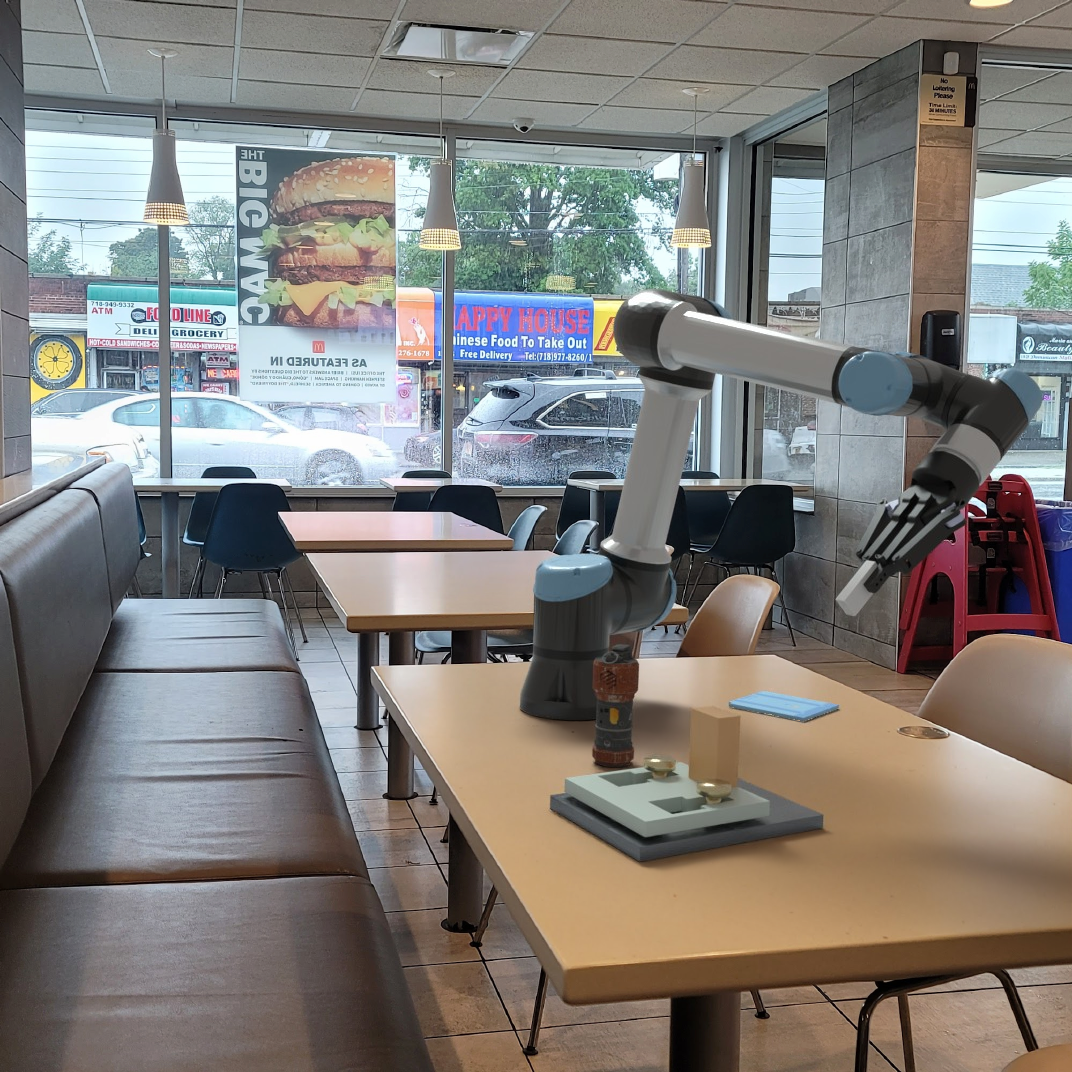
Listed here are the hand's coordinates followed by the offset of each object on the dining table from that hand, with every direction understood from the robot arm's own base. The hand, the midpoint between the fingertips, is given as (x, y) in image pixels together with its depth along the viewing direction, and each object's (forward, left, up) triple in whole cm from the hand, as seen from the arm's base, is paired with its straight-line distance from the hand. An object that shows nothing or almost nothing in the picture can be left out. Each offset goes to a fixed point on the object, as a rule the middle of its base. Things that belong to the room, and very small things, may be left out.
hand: (845, 607), depth 137 cm
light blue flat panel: (-36, +23, -23) cm, 49 cm away
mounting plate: (0, -23, -22) cm, 32 cm away
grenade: (-21, -18, -23) cm, 36 cm away
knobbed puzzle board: (0, -26, -20) cm, 33 cm away
